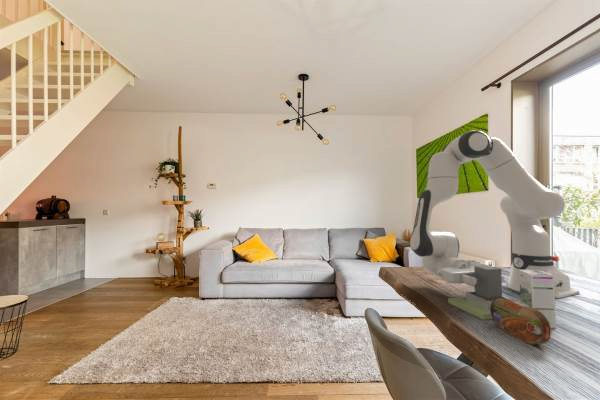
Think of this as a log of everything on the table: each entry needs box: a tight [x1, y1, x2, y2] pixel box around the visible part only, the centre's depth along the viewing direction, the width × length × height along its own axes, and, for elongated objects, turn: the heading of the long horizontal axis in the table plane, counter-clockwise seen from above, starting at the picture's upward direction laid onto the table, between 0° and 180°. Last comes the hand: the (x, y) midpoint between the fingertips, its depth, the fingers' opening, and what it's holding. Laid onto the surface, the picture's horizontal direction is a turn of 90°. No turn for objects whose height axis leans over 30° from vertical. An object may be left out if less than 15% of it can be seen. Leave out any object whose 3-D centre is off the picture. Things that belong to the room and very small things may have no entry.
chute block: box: [474, 264, 503, 300], centre depth 86 cm, size 5×5×12 cm
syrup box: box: [519, 270, 557, 329], centre depth 76 cm, size 6×6×14 cm
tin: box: [490, 298, 552, 345], centre depth 69 cm, size 15×3×8 cm, turn 5°
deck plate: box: [447, 291, 513, 321], centre depth 86 cm, size 16×14×4 cm
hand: (490, 280), depth 85 cm, fingers open, 8 cm apart
